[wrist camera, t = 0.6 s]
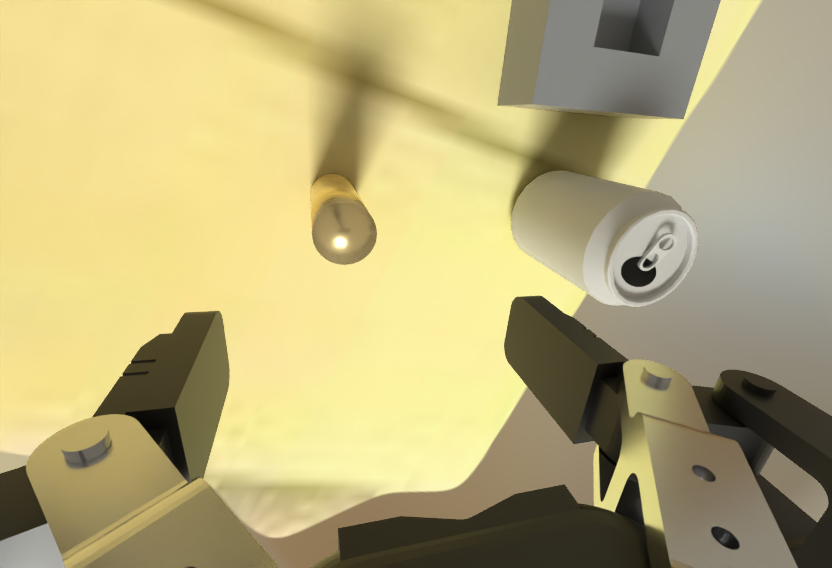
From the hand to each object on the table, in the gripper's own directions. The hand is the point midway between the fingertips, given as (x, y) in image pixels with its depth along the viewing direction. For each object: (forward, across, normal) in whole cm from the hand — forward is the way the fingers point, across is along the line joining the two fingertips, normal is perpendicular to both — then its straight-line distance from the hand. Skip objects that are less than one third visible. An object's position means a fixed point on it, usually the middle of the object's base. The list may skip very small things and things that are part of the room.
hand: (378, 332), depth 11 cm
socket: (+20, -18, -13) cm, 30 cm away
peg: (+20, 0, 0) cm, 20 cm away
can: (+20, -18, +1) cm, 27 cm away
